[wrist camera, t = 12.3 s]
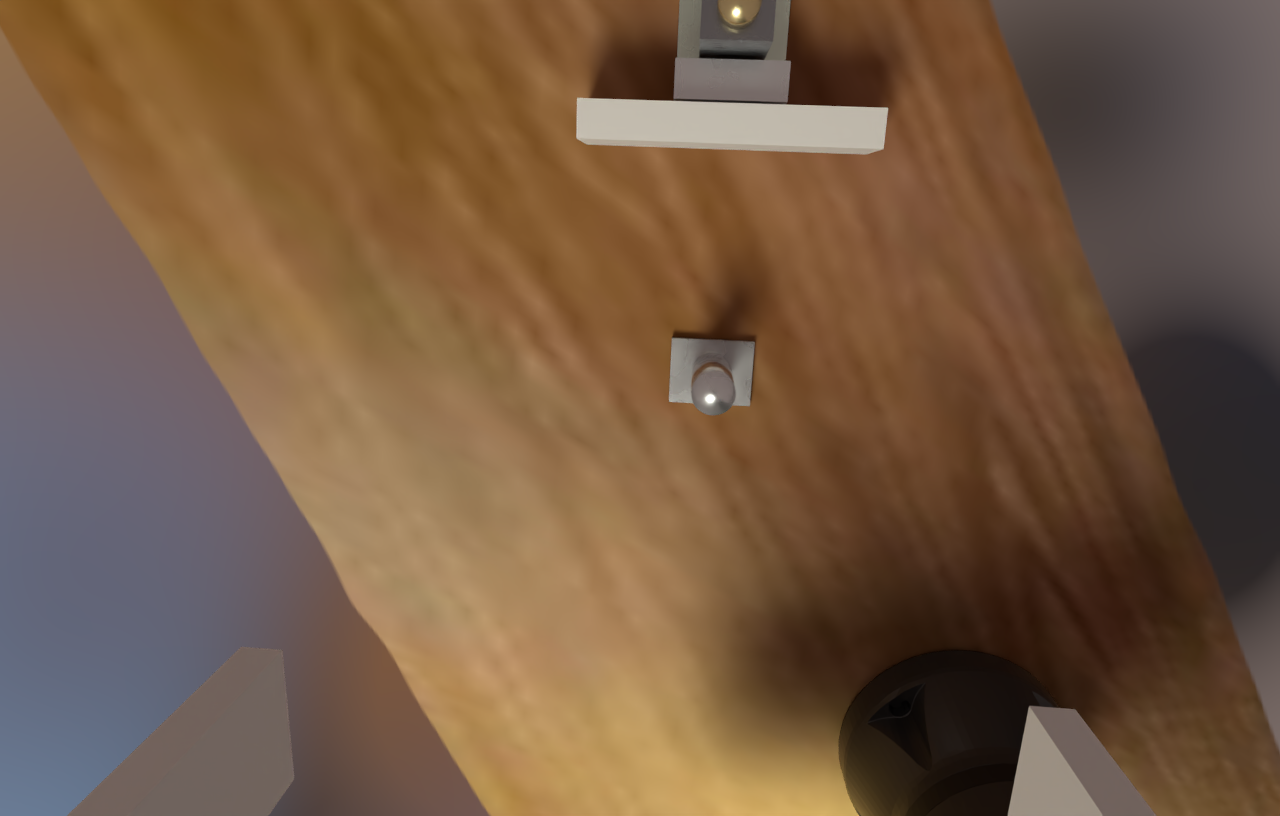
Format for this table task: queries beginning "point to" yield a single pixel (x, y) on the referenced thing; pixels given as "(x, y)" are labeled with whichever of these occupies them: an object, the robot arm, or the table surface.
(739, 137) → the door edge
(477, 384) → the table surface
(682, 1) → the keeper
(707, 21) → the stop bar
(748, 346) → the grey knobbed fixture
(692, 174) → the table surface
